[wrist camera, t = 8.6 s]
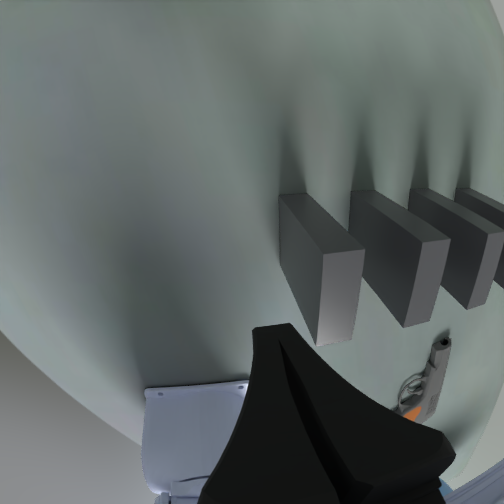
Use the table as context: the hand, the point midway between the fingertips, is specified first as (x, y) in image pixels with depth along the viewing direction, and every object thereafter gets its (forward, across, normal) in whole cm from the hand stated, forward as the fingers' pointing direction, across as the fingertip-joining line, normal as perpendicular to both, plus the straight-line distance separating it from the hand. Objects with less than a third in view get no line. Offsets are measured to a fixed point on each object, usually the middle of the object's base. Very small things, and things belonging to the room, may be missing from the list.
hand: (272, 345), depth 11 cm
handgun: (+11, -18, +23) cm, 31 cm away
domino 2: (+10, -8, 0) cm, 13 cm away
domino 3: (+10, -13, 0) cm, 16 cm away
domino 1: (+10, -3, 0) cm, 10 cm away
